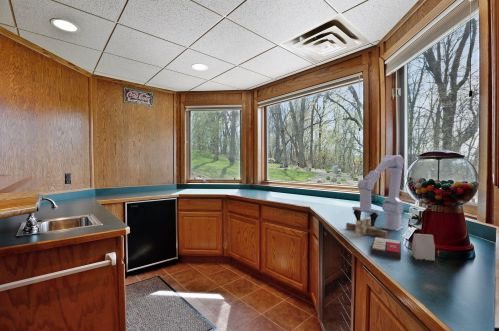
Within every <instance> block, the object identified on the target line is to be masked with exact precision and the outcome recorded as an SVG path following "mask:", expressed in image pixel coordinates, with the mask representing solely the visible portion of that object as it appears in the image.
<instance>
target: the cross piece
mask: <svg viewBox="0 0 499 331" xmlns="http://www.w3.org/2000/svg"><path fill="white" fill-rule="evenodd" d="M355 224H356V231H355V236H356V237H360V238H361V237H362V236H364V235H367V234H366V230H367V228H368V227H370V228H375V229H376V225H375V224H376V223H375V224H374V226H373V227H371V218H370V216H368V217H365V218H363V219H361V220H359V221H357V220H355Z"/></svg>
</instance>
